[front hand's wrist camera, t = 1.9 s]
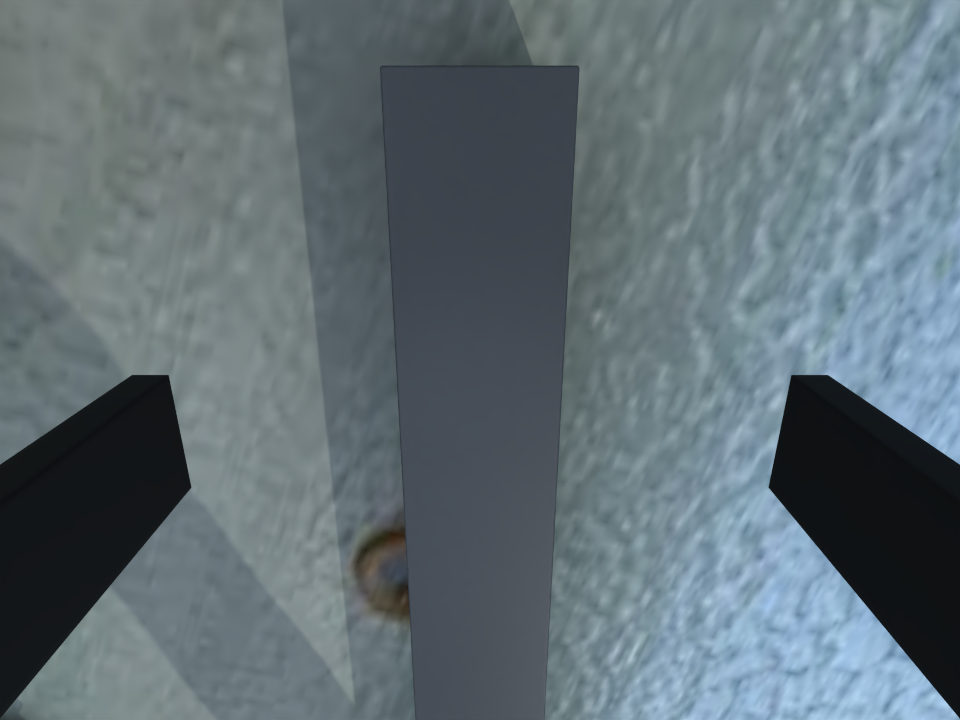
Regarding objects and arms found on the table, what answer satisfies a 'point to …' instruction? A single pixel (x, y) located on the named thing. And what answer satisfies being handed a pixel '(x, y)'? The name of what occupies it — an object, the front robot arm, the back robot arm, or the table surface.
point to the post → (479, 369)
